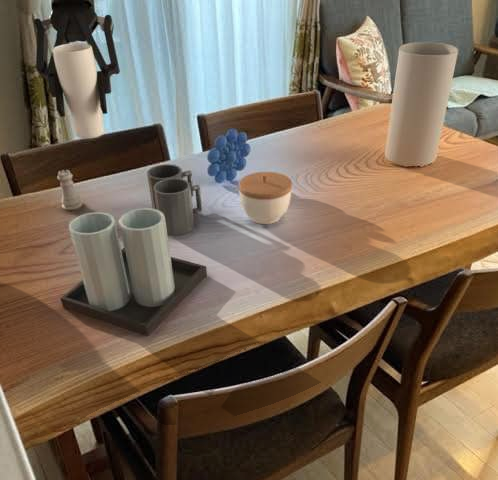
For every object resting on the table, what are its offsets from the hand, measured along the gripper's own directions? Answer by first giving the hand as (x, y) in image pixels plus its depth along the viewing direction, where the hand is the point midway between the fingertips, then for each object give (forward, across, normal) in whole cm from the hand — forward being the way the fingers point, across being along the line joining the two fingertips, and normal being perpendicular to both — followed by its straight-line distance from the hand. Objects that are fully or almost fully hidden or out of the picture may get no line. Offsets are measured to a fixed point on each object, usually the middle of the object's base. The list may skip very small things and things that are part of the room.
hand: (82, 111), depth 95 cm
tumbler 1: (+34, -2, 0) cm, 34 cm away
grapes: (+3, -27, -31) cm, 41 cm away
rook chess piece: (+9, +9, -26) cm, 28 cm away
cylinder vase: (+1, -73, -33) cm, 80 cm away
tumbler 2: (+34, -10, 0) cm, 36 cm away
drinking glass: (+2, 0, -6) cm, 7 cm away
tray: (+33, -6, -1) cm, 33 cm away
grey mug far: (+12, -14, -22) cm, 28 cm away
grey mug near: (+17, -15, -17) cm, 28 cm away
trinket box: (+17, -32, -17) cm, 41 cm away
